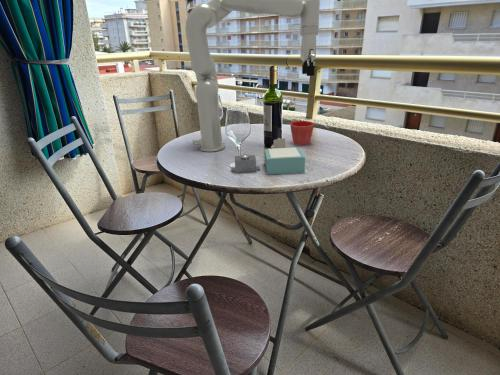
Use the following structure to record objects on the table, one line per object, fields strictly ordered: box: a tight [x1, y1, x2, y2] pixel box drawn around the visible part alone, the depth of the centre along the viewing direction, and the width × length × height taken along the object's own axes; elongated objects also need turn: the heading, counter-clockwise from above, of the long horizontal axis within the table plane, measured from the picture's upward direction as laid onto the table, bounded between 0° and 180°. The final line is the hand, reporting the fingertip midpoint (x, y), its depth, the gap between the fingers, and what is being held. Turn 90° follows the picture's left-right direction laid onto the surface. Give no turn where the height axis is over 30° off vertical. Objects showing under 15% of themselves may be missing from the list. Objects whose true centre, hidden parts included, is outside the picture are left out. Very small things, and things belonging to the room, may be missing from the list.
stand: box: [263, 147, 306, 175], centre depth 122 cm, size 14×12×6 cm
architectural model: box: [270, 137, 288, 149], centre depth 138 cm, size 3×7×7 cm, turn 111°
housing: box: [230, 153, 261, 174], centre depth 122 cm, size 11×6×6 cm, turn 92°
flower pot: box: [289, 120, 315, 146], centre depth 150 cm, size 11×11×10 cm
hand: (307, 74), depth 139 cm, fingers open, 9 cm apart
